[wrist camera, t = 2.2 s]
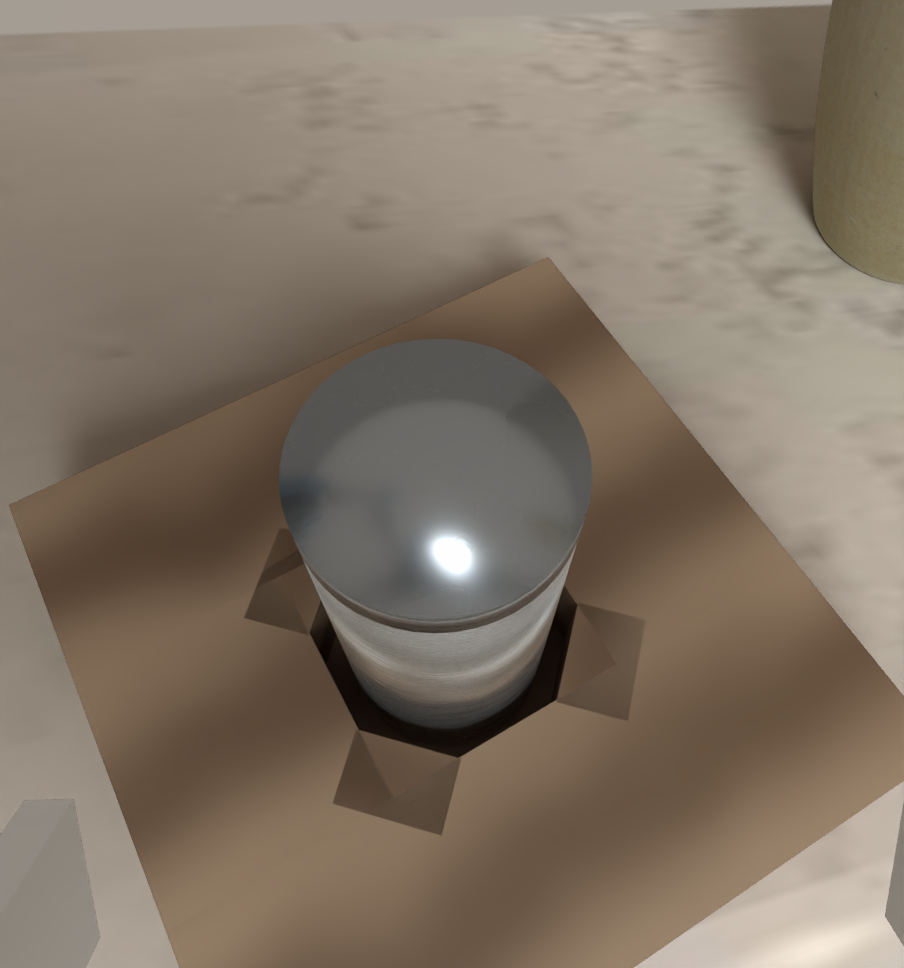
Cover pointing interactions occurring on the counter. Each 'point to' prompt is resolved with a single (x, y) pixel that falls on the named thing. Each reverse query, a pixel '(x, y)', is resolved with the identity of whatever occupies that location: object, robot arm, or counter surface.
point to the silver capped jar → (438, 526)
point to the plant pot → (862, 137)
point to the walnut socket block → (482, 763)
